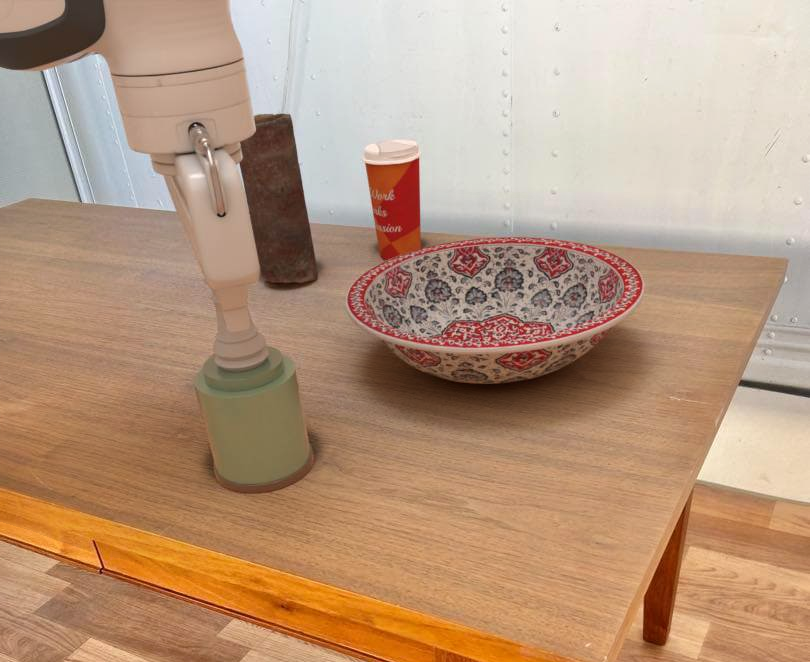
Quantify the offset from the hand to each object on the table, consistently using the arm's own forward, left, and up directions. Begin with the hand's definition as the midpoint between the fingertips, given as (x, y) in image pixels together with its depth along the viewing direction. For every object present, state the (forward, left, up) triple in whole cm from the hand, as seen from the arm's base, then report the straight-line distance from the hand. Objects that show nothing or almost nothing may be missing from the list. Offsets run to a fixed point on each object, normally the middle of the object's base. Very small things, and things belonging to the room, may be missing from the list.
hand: (228, 306), depth 66 cm
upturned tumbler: (0, 0, -15) cm, 15 cm away
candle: (+11, +45, -15) cm, 49 cm away
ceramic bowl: (+26, +10, -15) cm, 32 cm away
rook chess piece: (0, 0, -5) cm, 5 cm away
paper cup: (+27, +47, -15) cm, 56 cm away
